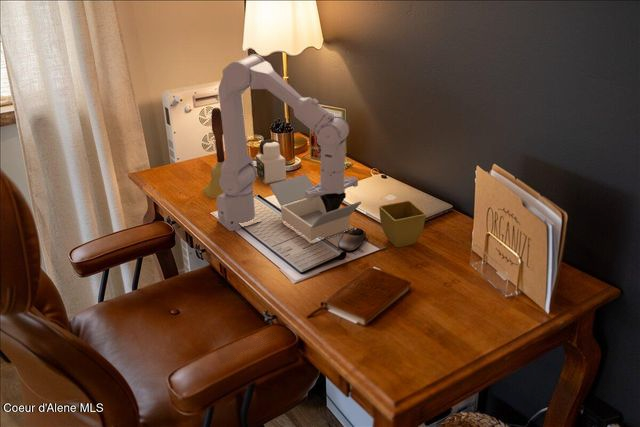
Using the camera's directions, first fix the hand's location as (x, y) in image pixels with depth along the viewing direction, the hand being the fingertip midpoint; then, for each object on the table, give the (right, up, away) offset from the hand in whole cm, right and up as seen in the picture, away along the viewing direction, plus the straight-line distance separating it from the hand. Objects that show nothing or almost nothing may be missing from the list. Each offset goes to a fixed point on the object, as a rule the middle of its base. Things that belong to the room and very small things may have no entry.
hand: (331, 217), depth 148 cm
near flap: (+1, +1, -3) cm, 3 cm away
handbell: (-32, +8, +30) cm, 44 cm away
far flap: (-10, +8, +12) cm, 17 cm away
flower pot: (+17, -6, 0) cm, 18 cm away
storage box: (-4, -2, +8) cm, 9 cm away
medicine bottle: (-18, +12, +37) cm, 43 cm away
